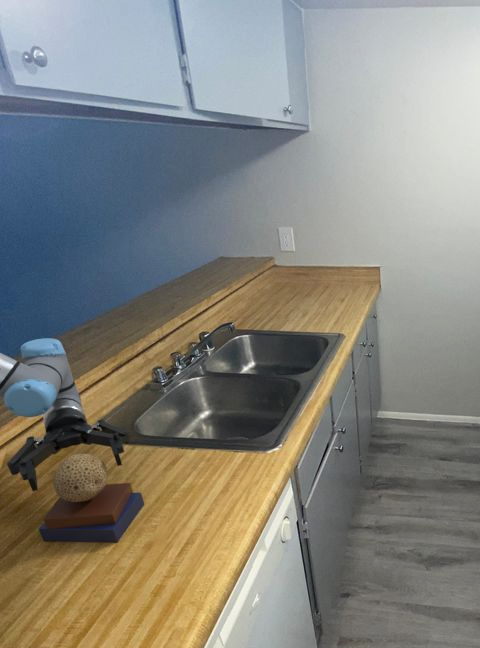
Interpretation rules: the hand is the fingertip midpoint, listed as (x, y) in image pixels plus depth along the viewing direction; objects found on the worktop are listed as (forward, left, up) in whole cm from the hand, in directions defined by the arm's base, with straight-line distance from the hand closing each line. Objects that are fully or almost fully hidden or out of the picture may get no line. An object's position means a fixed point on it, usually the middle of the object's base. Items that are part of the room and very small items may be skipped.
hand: (77, 471), depth 88 cm
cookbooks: (-1, +1, -13) cm, 13 cm away
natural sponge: (-1, +1, -8) cm, 8 cm away
